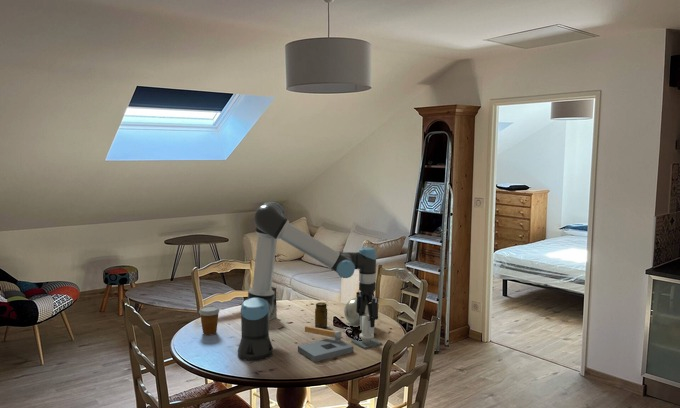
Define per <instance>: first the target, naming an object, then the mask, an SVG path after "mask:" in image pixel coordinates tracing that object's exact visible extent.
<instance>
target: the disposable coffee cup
mask: <svg viewBox="0 0 680 408" xmlns="http://www.w3.org/2000/svg"><path fill="white" fill-rule="evenodd" d="M198 313H199V316H200V321H201V327H202V334H203V333H204V334H207V335H206V336H210V335H209V334H213V335H216V334H217V332H218V322H219V313H220V309H219V306H216V305H215V306H214V305H207V306H202V307H200V308H199V311H198ZM215 333H216V334H215ZM204 334H203V335H204Z"/></svg>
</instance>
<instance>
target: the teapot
mask: <svg viewBox="0 0 680 408" xmlns="http://www.w3.org/2000/svg"><path fill="white" fill-rule="evenodd" d="M356 309H357V294H356V295H355V297H354V298H353V297H352V298H351V299H350V300H348V302H347V303H346V304H345V306H344V309H343V310H344V317H345V319H346V321H347V322H348V326H349V327H350V326H353V327H358V326H360V321H359V319H360V318H359V313H357V312H356ZM359 310H360V309H359ZM364 315H369V312H368V306H367V305H366V309H365V314H364Z"/></svg>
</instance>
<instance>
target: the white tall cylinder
mask: <svg viewBox="0 0 680 408" xmlns="http://www.w3.org/2000/svg"><path fill="white" fill-rule="evenodd" d="M369 319H370V318H369V315H363V316H362V330H361V333H359V339H360V338H361V339H362V342H363V343H371V339H375V333H373V334H368V320H369Z"/></svg>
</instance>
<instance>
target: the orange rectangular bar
mask: <svg viewBox="0 0 680 408" xmlns="http://www.w3.org/2000/svg"><path fill="white" fill-rule="evenodd" d="M311 326H312V325H311ZM311 326H309V325H305V326H304V332H305V333H309V334H314V335H319V336H325V337H329V338H333V337H334V338H335V339H341V340H342V331H341V330H332V329H329V330H326V329H321V328H316V327H311Z"/></svg>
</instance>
